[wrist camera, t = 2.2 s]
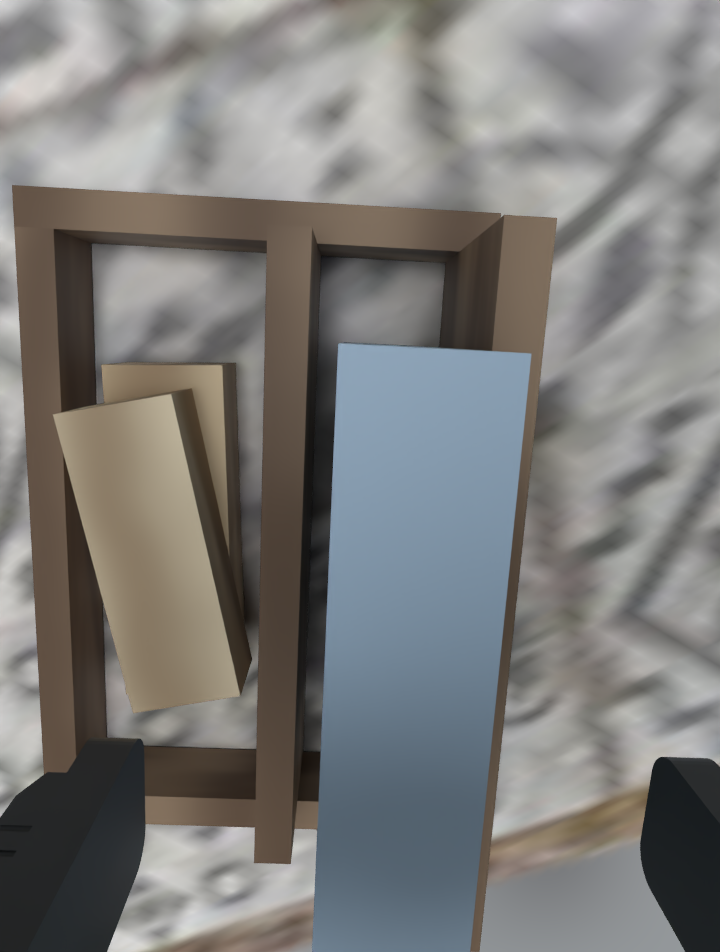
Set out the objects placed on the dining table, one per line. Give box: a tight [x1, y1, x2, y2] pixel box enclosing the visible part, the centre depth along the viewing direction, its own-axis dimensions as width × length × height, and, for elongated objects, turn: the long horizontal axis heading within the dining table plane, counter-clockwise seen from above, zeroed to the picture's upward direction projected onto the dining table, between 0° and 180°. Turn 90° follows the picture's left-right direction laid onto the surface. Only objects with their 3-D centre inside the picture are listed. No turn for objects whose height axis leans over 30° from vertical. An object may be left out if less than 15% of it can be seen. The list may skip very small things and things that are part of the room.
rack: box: [12, 185, 557, 952], centre depth 21 cm, size 15×22×9 cm
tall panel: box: [312, 342, 531, 952], centre depth 18 cm, size 2×14×16 cm, turn 177°
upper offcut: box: [53, 388, 252, 713], centre depth 21 cm, size 4×10×2 cm, turn 10°
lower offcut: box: [101, 362, 244, 694], centre depth 24 cm, size 4×12×3 cm, turn 0°
